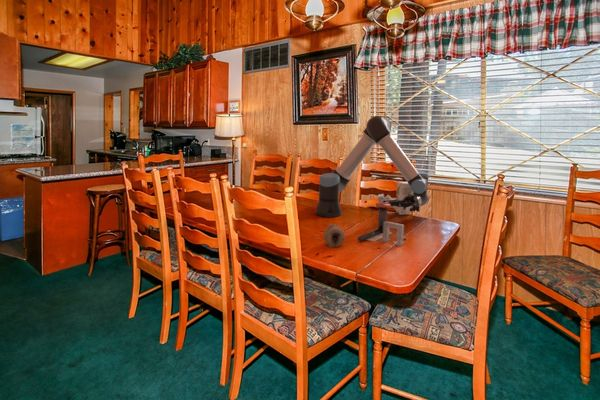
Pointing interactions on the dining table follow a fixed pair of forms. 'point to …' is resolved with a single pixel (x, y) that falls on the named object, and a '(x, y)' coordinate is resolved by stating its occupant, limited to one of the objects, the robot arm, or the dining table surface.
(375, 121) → the robot arm
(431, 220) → the dining table surface
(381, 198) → the wall hook
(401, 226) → the grey u-shaped bracket
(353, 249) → the dining table surface
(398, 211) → the juice carton
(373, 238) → the pad
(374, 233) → the hook
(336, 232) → the grey round lumpy ball
